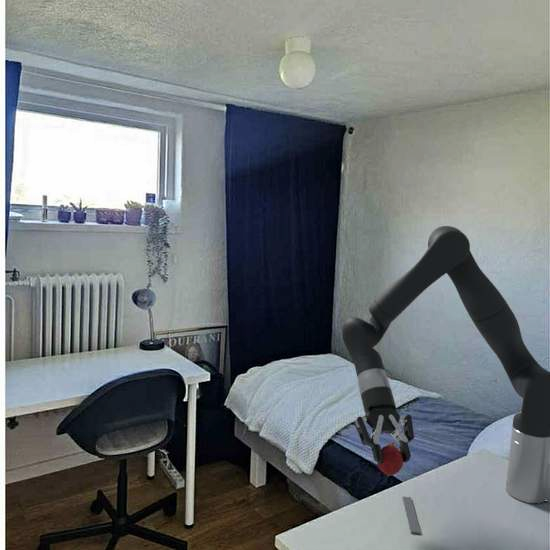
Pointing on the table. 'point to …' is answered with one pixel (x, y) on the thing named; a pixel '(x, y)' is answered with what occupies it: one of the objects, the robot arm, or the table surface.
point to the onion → (391, 460)
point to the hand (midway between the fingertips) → (393, 461)
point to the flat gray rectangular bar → (411, 515)
